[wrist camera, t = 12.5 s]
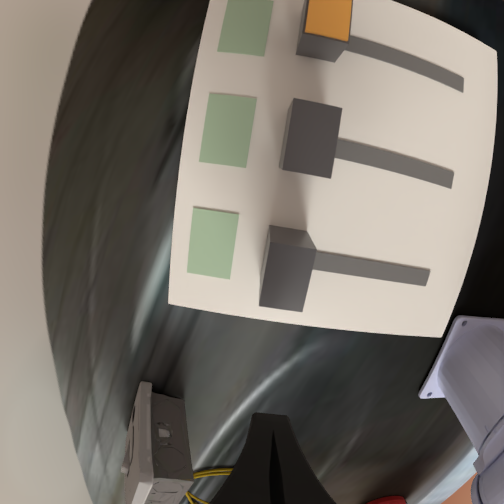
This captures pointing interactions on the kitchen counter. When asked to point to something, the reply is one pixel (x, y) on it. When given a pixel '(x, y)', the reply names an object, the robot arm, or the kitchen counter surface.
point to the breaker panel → (333, 169)
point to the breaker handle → (324, 29)
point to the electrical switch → (157, 450)
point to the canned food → (389, 500)
